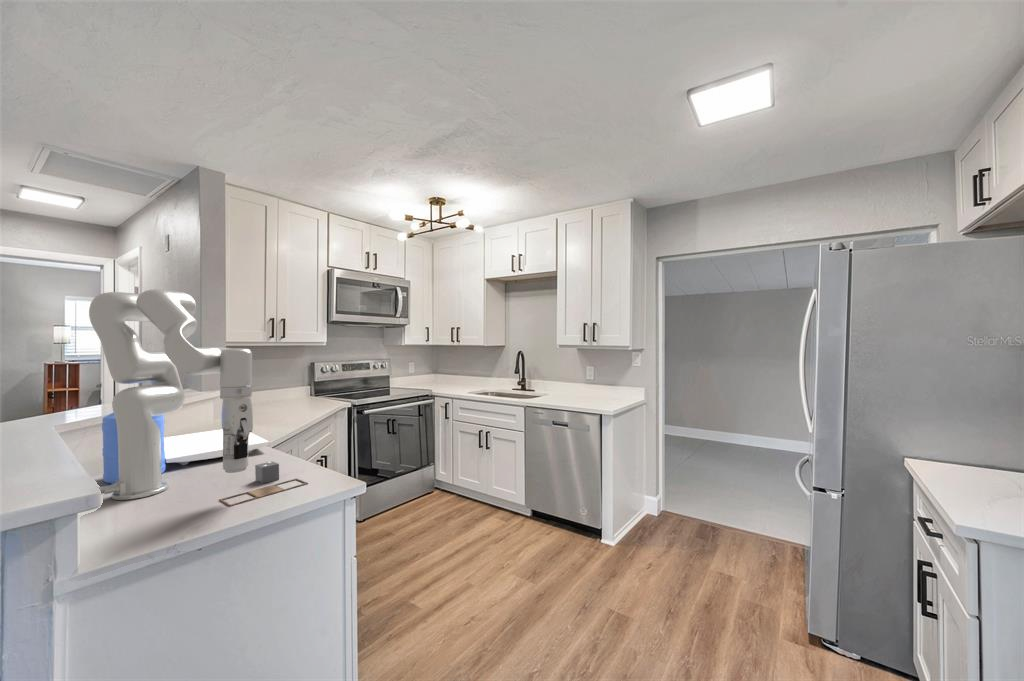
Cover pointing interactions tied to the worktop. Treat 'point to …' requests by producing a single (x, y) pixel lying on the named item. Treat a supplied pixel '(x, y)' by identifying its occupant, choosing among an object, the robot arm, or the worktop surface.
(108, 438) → the water jug
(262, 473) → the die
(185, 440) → the board
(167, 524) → the worktop surface
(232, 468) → the energy drink can
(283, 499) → the worktop surface
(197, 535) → the worktop surface
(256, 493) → the board
